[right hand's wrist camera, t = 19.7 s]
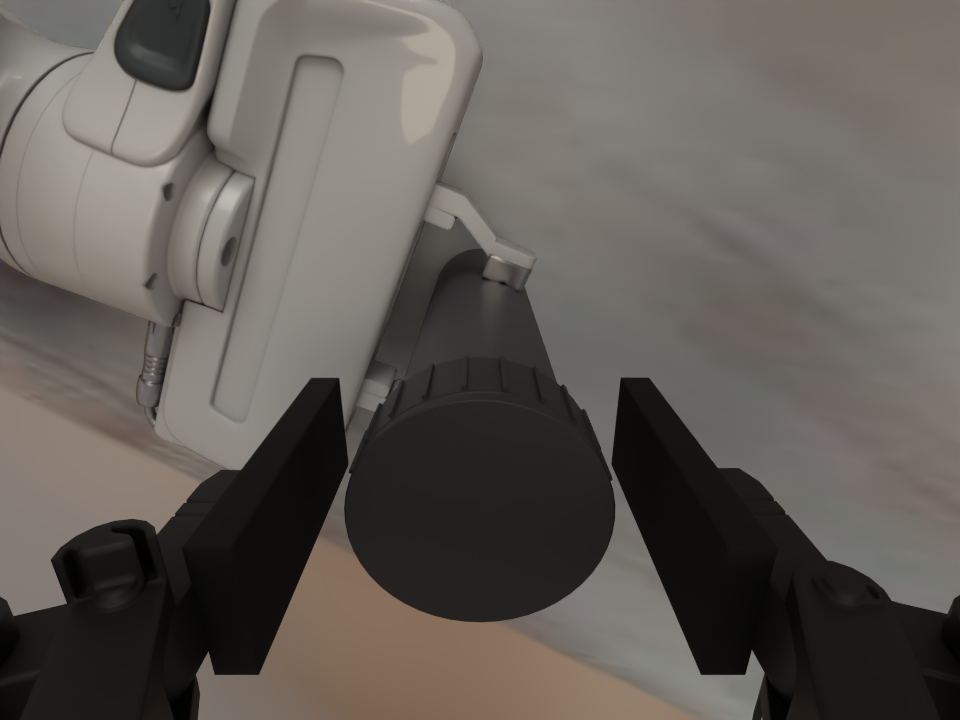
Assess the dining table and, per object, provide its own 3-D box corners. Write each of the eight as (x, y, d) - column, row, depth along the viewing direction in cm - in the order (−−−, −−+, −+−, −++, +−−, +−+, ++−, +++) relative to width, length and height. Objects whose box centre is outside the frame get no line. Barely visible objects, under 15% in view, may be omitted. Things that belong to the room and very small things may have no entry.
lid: (316, 426, 12) (282, 481, 10) (525, 307, 11) (536, 342, 9) (443, 583, 14) (436, 659, 12) (634, 493, 13) (664, 559, 11)
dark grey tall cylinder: (480, 351, 29) (480, 613, 13) (417, 293, 28) (325, 498, 11) (541, 292, 28) (633, 496, 11) (479, 229, 27) (478, 353, 10)
